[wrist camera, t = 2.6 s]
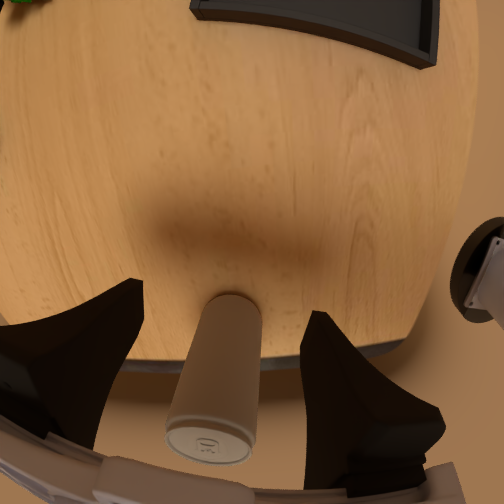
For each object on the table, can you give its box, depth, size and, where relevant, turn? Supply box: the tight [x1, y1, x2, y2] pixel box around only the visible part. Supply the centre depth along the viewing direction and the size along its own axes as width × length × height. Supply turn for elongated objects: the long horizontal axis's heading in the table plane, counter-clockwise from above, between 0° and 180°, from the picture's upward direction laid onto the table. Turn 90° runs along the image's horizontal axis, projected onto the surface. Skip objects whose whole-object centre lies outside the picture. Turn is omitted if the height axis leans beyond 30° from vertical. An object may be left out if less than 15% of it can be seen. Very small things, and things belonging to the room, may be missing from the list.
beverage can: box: [165, 295, 262, 466], centre depth 18 cm, size 5×5×12 cm
